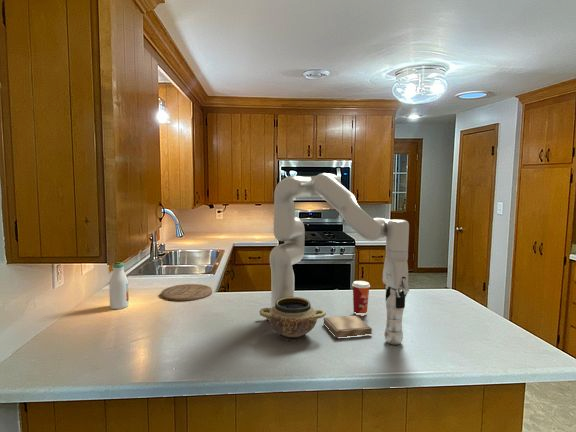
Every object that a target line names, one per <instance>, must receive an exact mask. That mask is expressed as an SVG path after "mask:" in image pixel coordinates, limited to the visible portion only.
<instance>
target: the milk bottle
mask: <svg viewBox="0 0 576 432" xmlns="http://www.w3.org/2000/svg"><path fill="white" fill-rule="evenodd" d="M120 263H121V264H119V265H113V264H112V269H113V271H112V274H111V277H110V278H109V283H108V284H109V287H108V288H109V291H108V292H109V308H110V309H112V310H122V309H125V308H128V306H129V305H130V303H129V302H130V301H129V300H130V299H129V281H128V277H127V275H126V273H125V271H124V268H125V263H124V262H120Z"/></svg>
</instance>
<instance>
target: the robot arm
mask: <svg viewBox="0 0 576 432" xmlns="http://www.w3.org/2000/svg"><path fill="white" fill-rule="evenodd" d="M311 197H321V198H322V199H323V200H324V201H326V202H327V204H329V205H330V206H331V207H332V208H333V209H334V210H336V211H337V212H338V213H339V214H340V217H341V218H342V219H343V220H344V221H345V223H346V224H347V225H348V226H349V228H351V229H352V230H353V231H354V232H356V233H357V234H358V236H360V237H361V238H363V239H364V240H367V241H368V242H373V241H374V242H375V241H377V240H379V239H383V238H385V258H384V260H383V269H382V283H383V284H384V287H385V288H384V289H385V301H386V300H387V298H388V297H389V296H390V295H391V293H390V288H393V289H396V292H397V297H396V308H397V309H398V308H404V309H405V307H406V297H407V295H408V293H409V292H410V287H409V265H408V259H409V239H410V237H409V235H410V223H409V221H407V220H406V219H388V218H387V219H386V218H383V217H374V218H373V217H372V216H370V215H369V214H368V213H367V212H366V211H365V210H363V209H362V207H360V205H359V204H358V202H357V199H356V198H357V197H356V195H355V194H353V192H351V191H350V190H349V189H347V188H346V187H345V186H344V185H343V184H342V182H341V179H340V177H339V176H337V175H336V174H334V173H330V172H329V173H327V172H322V173H318V174H317V175H313V176H310V175H309V176H301V175H290V176H287V177H285V178H282V179H281V180H280V181H279V182H278V183H277V184H276V186H275V189H274V192H273V205H274V207H273V208H274V209H273V235H274V237H275V239H276V240H277V241H280V242H284V243H280V244H278V245H276V246H274V247H273V248H272V249H271V251H270V253H269V266H270V270H271V272H270V273H271V274H270V275H271V276H270V277H271V286H270V287H271V290H270V291H271V293H270V295H271V297H270V299H271V300H270V302H271V303H270V304H271V305H270V306H271V307H269V308H272V307H274V306H275V303H276V301H277V300H278V299H281V298H285V297H295V273H294V269H293V265H295V264H297V263H299V262H301V261H302V259H303V258H304V255H305V238H306V237H305V235H306V233H305V231H306V229H305V225H304V222H303V221H302V220H301V219H300V217H297V216H296V205H295V202H294V201H295V200H294V199H295V198H311ZM399 290H401V292H400V291H399ZM265 313H268V312H265ZM259 316H261V315H260V314H259ZM261 317H262V316H261ZM268 320H269V319H268ZM268 320H267V321H268Z"/></svg>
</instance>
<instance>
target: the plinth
mask: <svg viewBox="0 0 576 432" xmlns="http://www.w3.org/2000/svg"><path fill="white" fill-rule="evenodd" d="M324 324H325V325H326V326H327V327H328V328H329V330H330V331H331V332H332V333H333V334H334V335H335V337H336V338H338V337H347V336H357V335H365V334H372V331H373V329H372V327H371V326H370V325H368V324H367V323H366V322H365V321H364V320H362V319H361V318H360V316H357V315H355V314H354V315H342V316H341V315H340V316H328V317H323V325H324ZM335 337H334V338H335Z"/></svg>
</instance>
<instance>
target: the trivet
mask: <svg viewBox="0 0 576 432" xmlns="http://www.w3.org/2000/svg"><path fill="white" fill-rule="evenodd" d="M212 294H213V289H212V287H210V286H208V285H206V284H198V283H195V284H194V283H186V284H185V283H183V284H178V285H173V286H169V287H166V288H164V289H162V290H161V293H160V296H161V299H164V300H166V301H171V302H192V301H198V300H202V299H206V298H208V297H209V296H211V295H212Z"/></svg>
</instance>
